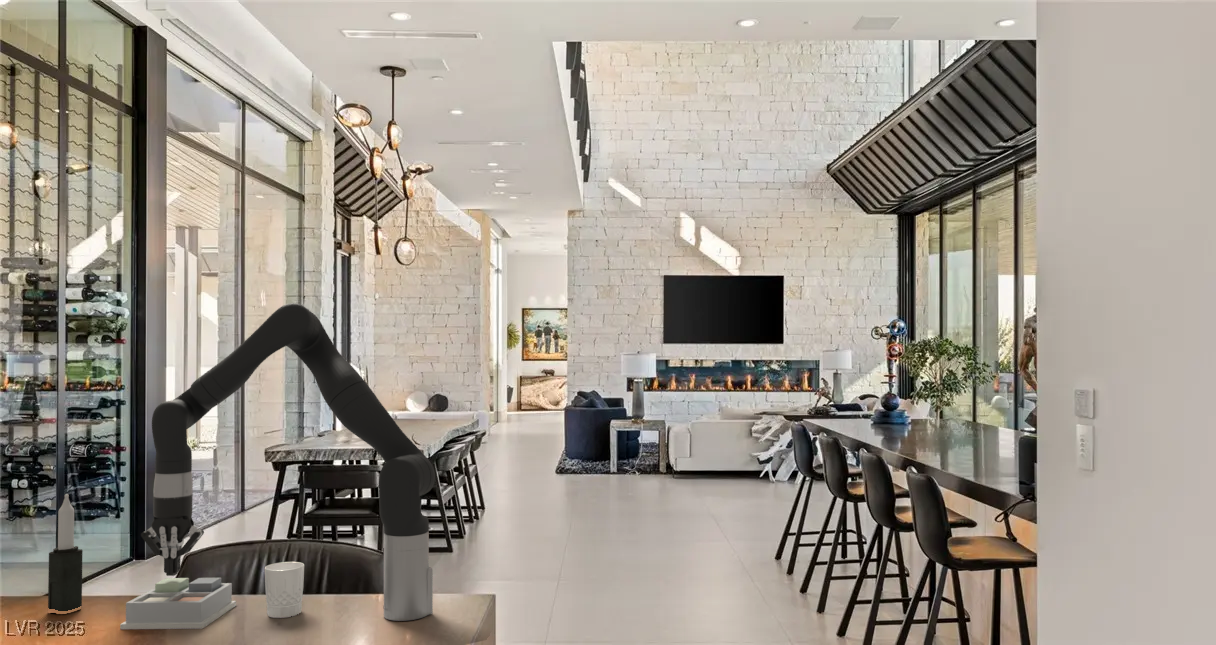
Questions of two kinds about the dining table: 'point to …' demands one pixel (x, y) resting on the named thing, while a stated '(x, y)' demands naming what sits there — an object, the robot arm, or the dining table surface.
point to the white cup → (284, 589)
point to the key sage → (172, 585)
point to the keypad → (178, 609)
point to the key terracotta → (191, 599)
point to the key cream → (157, 599)
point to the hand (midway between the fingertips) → (171, 574)
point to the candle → (65, 564)
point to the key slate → (205, 585)
